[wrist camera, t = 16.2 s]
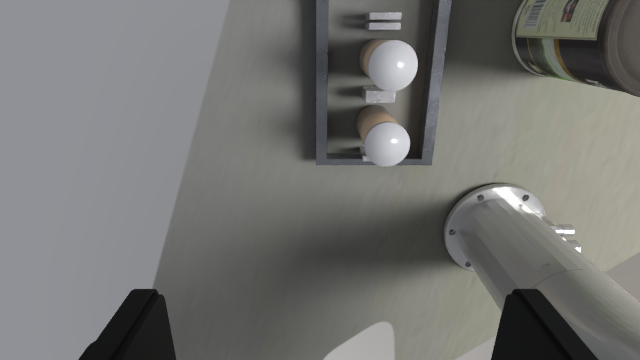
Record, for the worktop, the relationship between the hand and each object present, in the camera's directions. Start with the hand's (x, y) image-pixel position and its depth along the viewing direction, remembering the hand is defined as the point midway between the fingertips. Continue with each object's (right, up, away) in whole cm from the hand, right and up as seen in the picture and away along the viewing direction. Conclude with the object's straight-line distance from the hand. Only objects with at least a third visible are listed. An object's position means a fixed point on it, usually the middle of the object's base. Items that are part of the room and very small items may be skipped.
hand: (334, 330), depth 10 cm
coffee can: (+25, +20, +29) cm, 43 cm away
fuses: (+6, +14, +31) cm, 35 cm away
